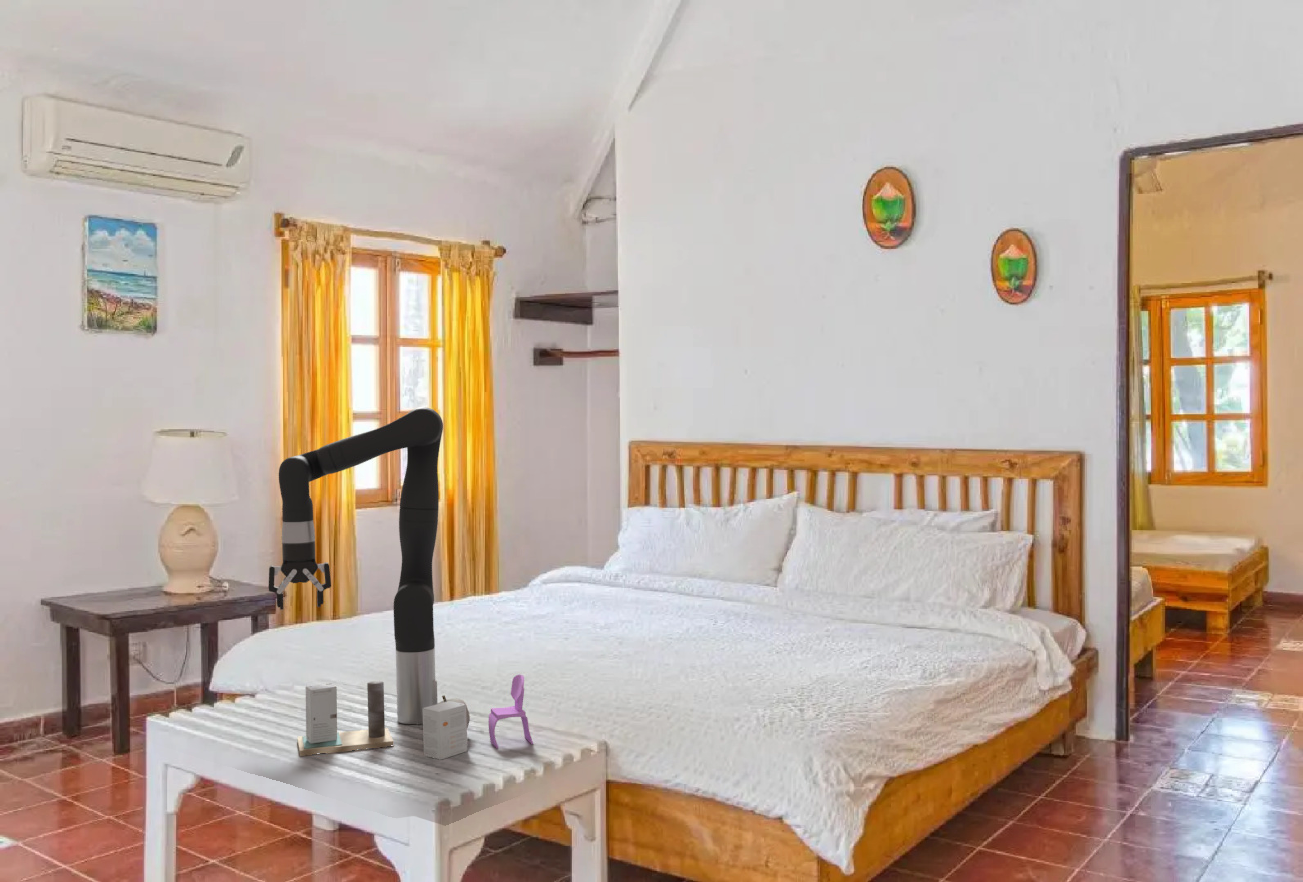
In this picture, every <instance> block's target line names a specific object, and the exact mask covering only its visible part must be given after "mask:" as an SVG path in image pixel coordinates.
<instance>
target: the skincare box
mask: <svg viewBox="0 0 1303 882" xmlns="http://www.w3.org/2000/svg"><path fill="white" fill-rule="evenodd" d="M337 691H338V688H337V686H336V685H334V684H333V683H325V684H324V683H323V684H322V683H321V684H316V685H315V684H314V685H306V686H305V736H306V740H307V741H308V742H309V743H311V744H313V743H320V742H327V741H334V740H337V733H338V707H337V706H338V703H337V702H338V694H337V693H338V692H337Z"/></svg>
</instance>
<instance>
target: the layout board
mask: <svg viewBox="0 0 1303 882" xmlns="http://www.w3.org/2000/svg"><path fill="white" fill-rule="evenodd" d="M384 686H385V684H384V681H382V680H381V681H380V680H374V681H369V682H367V683H366V689H367V723H368V724H367V725H368V727H367V729H360V730H350V731H341V732H340V731H339V732H337V740H334V741H327V742H320V743H313V744H311V743H309V742H308V741H307V740H306V735H303V736H302V735H300V736H297V746H298V753H299V757H306V755H307V756H313V755H312V754H317V753H326V754H333V753H343V752H351V751H352V750H355V751H358V750H357V749H364V750H367V749H366V748H374V749H381V748H380V747H383V748H387V747H386V746H391V745H393V746H394V740H393V737H392V735H391V732H390V730H389V728H388V727H385V726H386V725H385V724H386V723H385V720H386V719H385V690H384V689H385V687H384ZM352 752H353V751H352ZM317 755H318V754H317Z"/></svg>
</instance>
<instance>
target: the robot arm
mask: <svg viewBox="0 0 1303 882" xmlns="http://www.w3.org/2000/svg"><path fill="white" fill-rule="evenodd" d="M443 430H444V423H443V419H442V417H441V415H440V414H439V413H438V412H437V411H436V410H435V409H433V408H429V407H419V406H418V407H416V408H414V409H412V410H410V411H409V412H407V414H404V415H402V416H401V417H399V418H397V419H395V420H394V421H391V422H390V423H387V424H386V425H382V426H380V427H377V428H374V429H373V430H369V431H366V432H362V433H358V434H355V435H351V436H348V437H344V438H341V439H340V440H339V439H338V440H337V441H334V442H331V443H328V444H325V445H322V446H321V447H320V448H317V449H314V450H312V451H309V452H304V453H301V454H298V455H294V456H290V457H287V458H286V459H284V460H283V461H282V462H281V464H280V466H279V468H278V484H279V490H280V496H281V501H282V502H281V503H282V506H281V507H282V509H281V510H282V511H281V514H282V517H281V518H282V525H281V526H282V527H281V545H282V547H281V549H282V551H281V552H282V564H281V566H280V565H279V566H278V565H277V566H275V565H273V564H271V565H270V566H269V567H268V592H271V593H275V594H276V605H277V608H279V609H280V611H281V610H282V611H284V593H283V592H284V590H285V589H286V588H287V586H288V585H289V584H290V583H292V584H298V583H308V582H309V581H310V582H311V583H312V585H313V586H314V587H315V588H316V589H317V590H316V602H317V603H316V605H317V608H321V605H323V604H324V602H325V601H324V591H325V590H327V589H330V588H331V587H332V580H331V579H332V578H331V570H330V569H331V568H330V564H329V562H326V561H325V562H323V563H317V561H316V534H315V533H316V532H315V531H316V530H315V525H314V524H315V523H314V506H313V501H312V498H311V495H310V482H312V481H315V480H318V479H320V478H322V477H325V476H327V475H331V474H332V475H333V474H335V473H339V472H343V471H344V470H348V469H351V468H354V467H356V466H359V465H361V464H364V463H366V462H368V461H370V460H373V459H374V458H377V457H379V456H382V455H384V454H387V453H390V452H394V451H397V450H400V449H401V450H402V449H407V450H406V451H407V454H406V455H407V462H406V471H405V474H404V479H403V484H402V487H401V494H400V502H399V515H398V531H399V532H398V533H399V534H398V535H399V542H400V543H399V544H400V551H401V567H400V576H399V582H398V588H397V592H396V594H395V595H394V598H393V628H394V629H393V630H394V633H393V634H394V642H395V676H396V677H395V678H396V680H395V681H396V708H397V709H396V712H397V713H396V716H397V722H398V723H400V724H404V725H405V724H406V725H420V724H422V725H423V708H425V707H429V706H433V705H436V704H438V703H439V702H438V681H437V679H436V649H435V645H436V644H435V643H436V641H435V640H436V639H435V631H434V627H435V626H434V604H435V594H434V582H433V580H434V579H433V560H434V559H433V557H434V552H435V546H436V540H437V532H438V525H439V523H438V522H439V507H440V506H439V499H440V498H439V495H440V494H439V493H440V492H439V474H438V472H439V471H438V463H439V456H440V455H439V452H440V447H441V440H442V437H443V436H442V435H443V432H444V431H443ZM318 570H320V572H321V573H324V574H323V575H324V583H320V582H319V580H318V578H316V576H315V574H316V572H317V571H318ZM279 572H281V573H282V574H283V575H284V576H285V577H284V578H283V579H282V581H281V582H280V584H279V585H278V586H275V577H276V576H278V574H279Z"/></svg>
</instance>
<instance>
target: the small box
mask: <svg viewBox="0 0 1303 882" xmlns="http://www.w3.org/2000/svg"><path fill="white" fill-rule="evenodd" d="M439 703H440V702H439ZM466 705H467V704H462V703H457V702H453V701H447V702H444V703H440V704H436V705H433V706H429V707H425V708H423V723H422V730H423V731H422V734H423V735H422V737H423V739H422V740H423V756H424V755H425V757H427V756H428V758H431V757H434V758H433V759H435V758H437V759H436V760H440V761H441V760H444V759H446V758H451V757H453V756H457V755H460V754H462V753H465V752H468V728H467V716H466Z"/></svg>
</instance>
